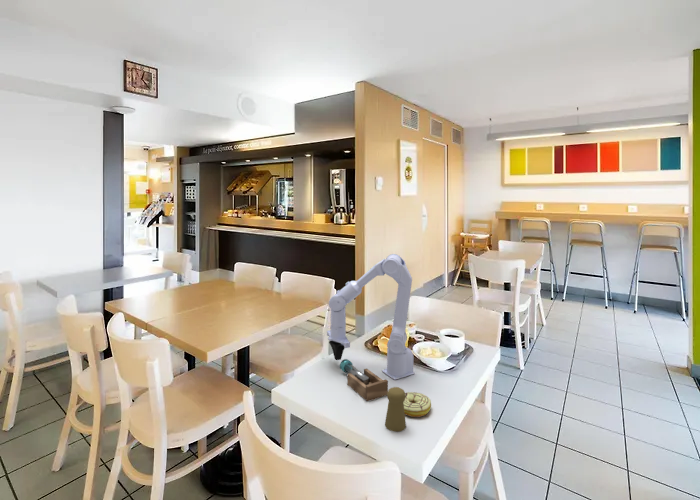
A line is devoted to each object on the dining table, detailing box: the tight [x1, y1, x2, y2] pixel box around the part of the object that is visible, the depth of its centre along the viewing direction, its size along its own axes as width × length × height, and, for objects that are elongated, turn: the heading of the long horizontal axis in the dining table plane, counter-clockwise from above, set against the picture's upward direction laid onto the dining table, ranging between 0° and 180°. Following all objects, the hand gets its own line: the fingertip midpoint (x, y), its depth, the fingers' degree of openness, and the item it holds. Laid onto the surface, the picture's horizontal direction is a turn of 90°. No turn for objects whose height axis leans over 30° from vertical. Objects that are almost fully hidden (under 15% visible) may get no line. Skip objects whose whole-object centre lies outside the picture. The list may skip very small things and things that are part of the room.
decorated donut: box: [403, 391, 432, 418], centre depth 117 cm, size 10×11×4 cm
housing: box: [346, 368, 389, 403], centre depth 128 cm, size 13×8×5 cm, turn 31°
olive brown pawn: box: [384, 386, 407, 433], centre depth 108 cm, size 6×6×11 cm
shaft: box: [339, 358, 370, 385], centre depth 134 cm, size 14×4×4 cm, turn 31°
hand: (337, 359), depth 145 cm, fingers closed
